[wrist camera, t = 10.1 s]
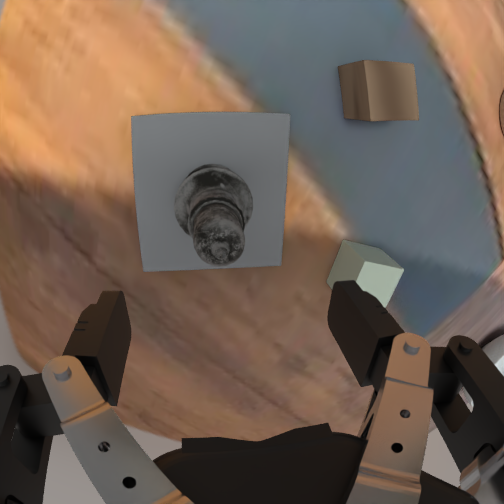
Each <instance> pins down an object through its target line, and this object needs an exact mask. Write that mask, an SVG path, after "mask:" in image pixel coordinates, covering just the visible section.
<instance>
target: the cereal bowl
mask: <svg viewBox="0 0 504 504" xmlns="http://www.w3.org/2000/svg"><path fill="white" fill-rule="evenodd" d="M481 349H482V350H483V351H484V352H485V354H486V355H487V356H488V357H489V358H490V360H491V361H492V362H493V363H494V365H495V366H496V367H497V368H498V370H499V371H500V372H501V373H502V375H503V376H504V335H501V336H500V337H498V338H496V339H494V340H493V341H491V342H490V343H488V344H486V345H485V346H484V347H483V348H481ZM463 391H464V395H465V397H466V399H467V401H468V402H469V404H470V405H471V406H473V400H472V398H471V397H470V395H469V394H468V392H467V391H466V389H465V388H464V386H463Z"/></svg>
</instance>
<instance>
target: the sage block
mask: <svg viewBox="0 0 504 504" xmlns="http://www.w3.org/2000/svg"><path fill="white" fill-rule="evenodd" d="M403 271H404V269H403V268H402V267H401V266H400V265H398V264H397V263H396V262H395V261H394V260H393V259H392V258H391V257H389V256H388V255H387V254H386V253H385V252H384V251H382V250H381V249H380V248H376V247H372V246H368V245H364V244H360V243H356V242H351V241H347V240H343V241H342V244H341V246H340V249H339V251H338V254H337V256H336V259H335V261H334V264H333V266H332V269H331V271H330V274H329V276H328V279H327V281H326V282H327V284H328V285H329V286H330V288H331V289H333V285H334V283H335V282H336V281H345V280H355V281H356V283H357V284H358V285H359V286H360V287H361V289H362V290H363V291H367V292H369V293H370V294H372V295H373V296H375V297H376V298H377V299H378V300H379V301H380V302H381V304H382V305H383V307H385V308H386V306H387V304H388V302H389V300H390V298H391V296H392V294H393V292H394V290H395V288H396V286H397V284H398V282H399V279H400V277H401V275H402V273H403Z"/></svg>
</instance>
